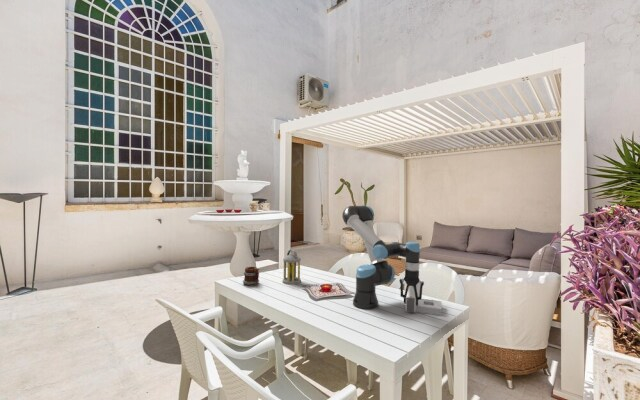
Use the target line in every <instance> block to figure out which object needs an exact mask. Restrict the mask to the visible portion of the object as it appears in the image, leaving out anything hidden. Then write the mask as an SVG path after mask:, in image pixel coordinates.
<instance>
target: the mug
mask: <svg viewBox="0 0 640 400" xmlns="http://www.w3.org/2000/svg"><path fill="white" fill-rule="evenodd" d="M259 270H260V269H259V268H257V266H246V267H245V268H244V271H243V277H244V278H243V280H242V283H243V285H244V286H248V287H251V286H257V285H258V284H259V282H260V280H259V277H260V272H259Z"/></svg>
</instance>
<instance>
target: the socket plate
mask: <svg viewBox="0 0 640 400" xmlns="http://www.w3.org/2000/svg"><path fill="white" fill-rule="evenodd" d="M442 312H443V305H442V300H434V299H425V298H422V299H421V300H418V306H416V311H415V312H414V313H423V314H428V315H436V316H442Z"/></svg>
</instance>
